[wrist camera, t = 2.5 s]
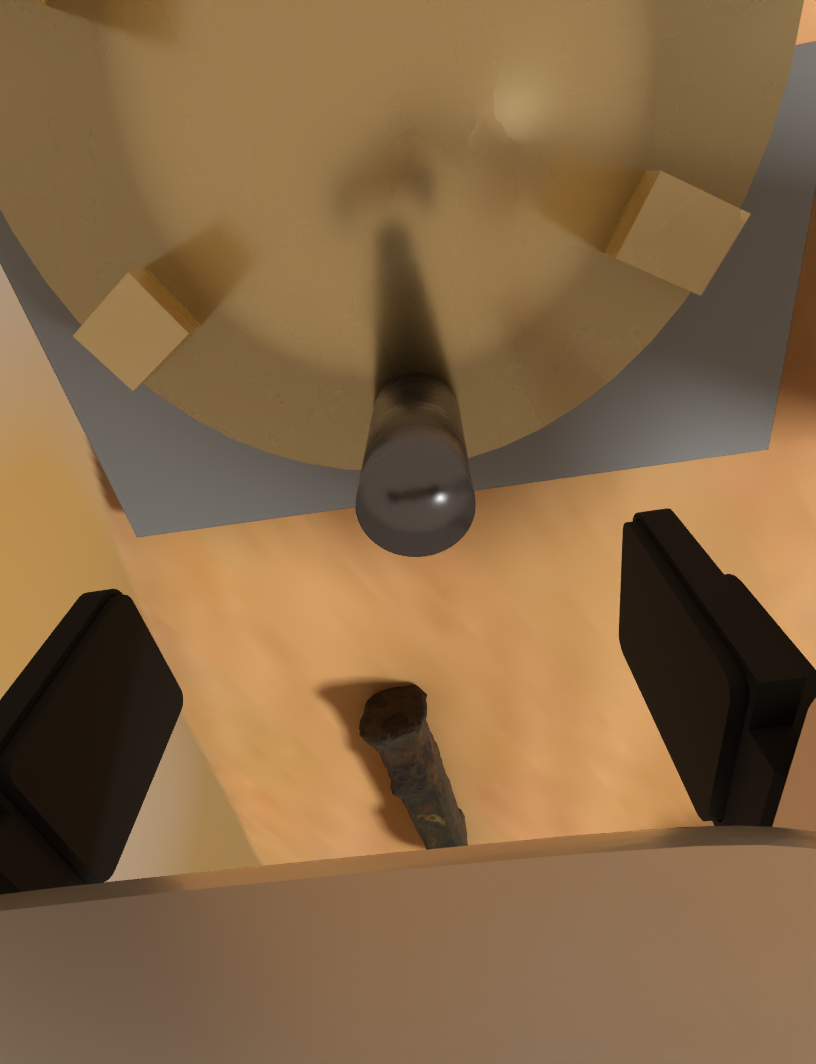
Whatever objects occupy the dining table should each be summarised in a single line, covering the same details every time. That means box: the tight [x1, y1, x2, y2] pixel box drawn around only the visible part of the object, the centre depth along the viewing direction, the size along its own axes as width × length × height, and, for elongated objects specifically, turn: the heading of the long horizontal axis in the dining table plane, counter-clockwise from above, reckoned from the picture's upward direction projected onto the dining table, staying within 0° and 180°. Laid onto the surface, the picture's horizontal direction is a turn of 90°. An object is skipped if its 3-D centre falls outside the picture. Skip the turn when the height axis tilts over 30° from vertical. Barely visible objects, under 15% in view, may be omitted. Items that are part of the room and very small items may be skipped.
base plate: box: [0, 0, 816, 537], centre depth 18 cm, size 28×28×2 cm
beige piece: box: [0, 0, 804, 557], centre depth 13 cm, size 22×22×9 cm
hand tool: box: [359, 685, 468, 850], centre depth 37 cm, size 19×4×5 cm, turn 13°
